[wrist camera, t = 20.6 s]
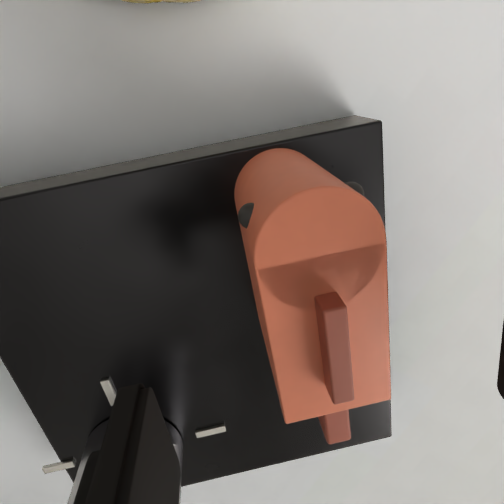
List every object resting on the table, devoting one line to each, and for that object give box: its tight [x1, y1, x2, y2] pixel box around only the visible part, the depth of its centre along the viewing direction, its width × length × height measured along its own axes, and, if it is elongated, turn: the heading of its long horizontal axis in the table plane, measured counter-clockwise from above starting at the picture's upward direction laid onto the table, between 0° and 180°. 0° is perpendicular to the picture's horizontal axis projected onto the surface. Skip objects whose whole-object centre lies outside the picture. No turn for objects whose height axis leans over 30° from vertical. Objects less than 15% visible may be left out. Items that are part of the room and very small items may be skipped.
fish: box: [234, 148, 391, 444], centre depth 12 cm, size 8×3×6 cm, turn 10°
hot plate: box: [0, 115, 391, 487], centre depth 17 cm, size 17×17×3 cm
